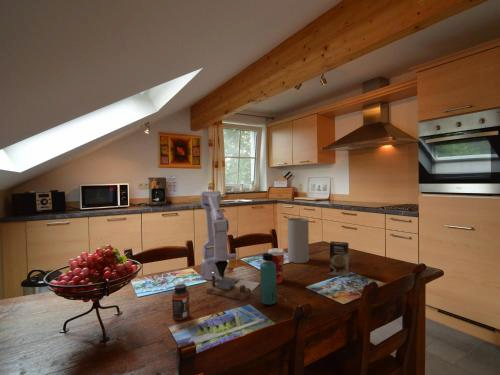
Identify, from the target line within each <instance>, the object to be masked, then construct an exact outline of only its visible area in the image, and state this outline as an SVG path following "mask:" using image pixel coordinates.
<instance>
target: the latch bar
mask: <svg viewBox="0 0 500 375" xmlns="http://www.w3.org/2000/svg"><path fill="white" fill-rule="evenodd" d="M211 276H215V277H217V278H219V279H220V280H224V277H225V276H224V277H223V276H221V275H219V274H217V273H216V272H215V271H213V272H211ZM219 279H218V280H219Z"/></svg>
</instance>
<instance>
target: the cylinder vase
mask: <svg viewBox="0 0 500 375" xmlns="http://www.w3.org/2000/svg"><path fill="white" fill-rule="evenodd" d="M286 220H287V221H286V222H287V223H286V224H287V261H289V263H290V262H291V263H292V262H293V263H294V264H306V263H308V262H309V260H310V254H309V253H310V250H309V249H310V245H309V244H310V243H309V241H310V240H309V238H310V236H309V234H310V232H309V231H310V230H309V219H308V218H303V217H302V218H301V217H291V218H287V219H286Z"/></svg>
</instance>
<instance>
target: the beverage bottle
mask: <svg viewBox="0 0 500 375" xmlns="http://www.w3.org/2000/svg"><path fill="white" fill-rule="evenodd" d="M262 260H263V262H262V263H261V264H259V265H260V266H259V267H260V301H261V303H262V304H265V305H273V304H275V303H277V299H278V292H277V291H278V287H277V283H276V275H277V274H276V265H275V264H274V263H273V262H271V261H272V260H273V254H270V253H268V252H267V253H263V254H262Z"/></svg>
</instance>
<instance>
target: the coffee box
mask: <svg viewBox="0 0 500 375" xmlns="http://www.w3.org/2000/svg"><path fill="white" fill-rule="evenodd" d="M349 247H350V246H349V242H346V241H345V242H343V241H330V243H329V275H330V276H337V277H338V276H339V277H347V278H348V277H349Z"/></svg>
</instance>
